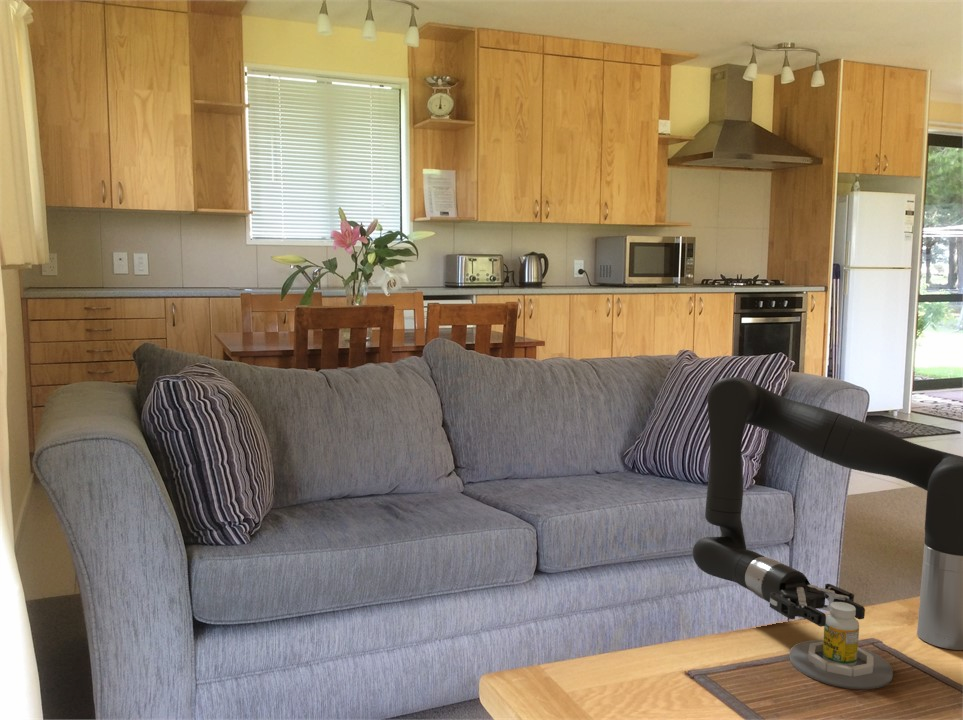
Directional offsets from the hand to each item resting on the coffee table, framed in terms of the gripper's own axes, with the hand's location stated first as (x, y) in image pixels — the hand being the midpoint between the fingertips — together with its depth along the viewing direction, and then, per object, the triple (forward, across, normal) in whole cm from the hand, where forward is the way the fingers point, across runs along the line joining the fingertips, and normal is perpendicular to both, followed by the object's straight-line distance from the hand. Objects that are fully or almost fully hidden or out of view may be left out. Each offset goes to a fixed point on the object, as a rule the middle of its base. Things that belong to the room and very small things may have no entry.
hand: (844, 617), depth 141 cm
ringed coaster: (0, 0, +9) cm, 9 cm away
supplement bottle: (0, 0, +8) cm, 8 cm away
